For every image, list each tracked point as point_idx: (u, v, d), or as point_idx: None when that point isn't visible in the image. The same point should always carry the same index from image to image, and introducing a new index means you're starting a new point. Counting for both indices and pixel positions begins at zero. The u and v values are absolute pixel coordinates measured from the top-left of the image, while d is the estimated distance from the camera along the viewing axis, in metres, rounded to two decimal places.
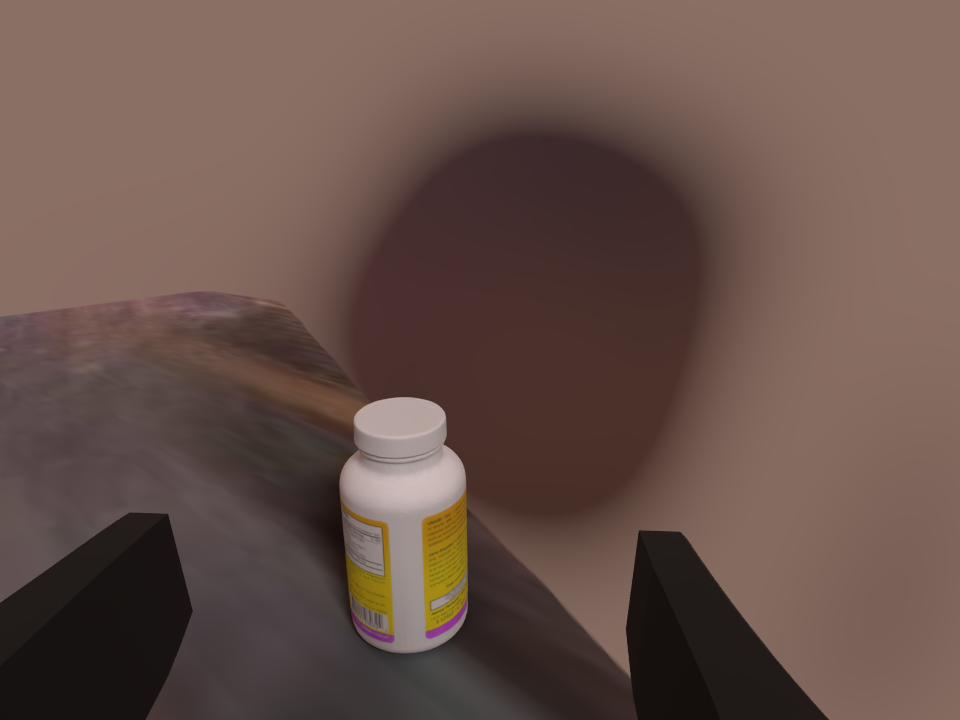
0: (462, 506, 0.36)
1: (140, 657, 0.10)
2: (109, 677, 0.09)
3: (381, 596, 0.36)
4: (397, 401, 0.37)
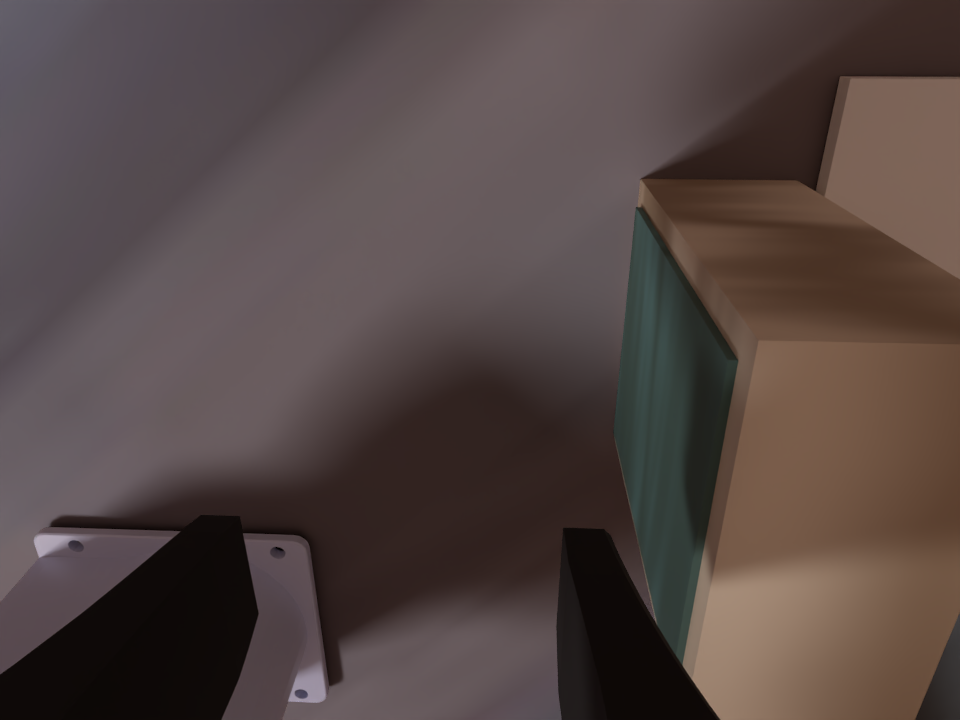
0: None
1: (216, 661, 0.10)
2: (190, 681, 0.09)
3: None
4: None
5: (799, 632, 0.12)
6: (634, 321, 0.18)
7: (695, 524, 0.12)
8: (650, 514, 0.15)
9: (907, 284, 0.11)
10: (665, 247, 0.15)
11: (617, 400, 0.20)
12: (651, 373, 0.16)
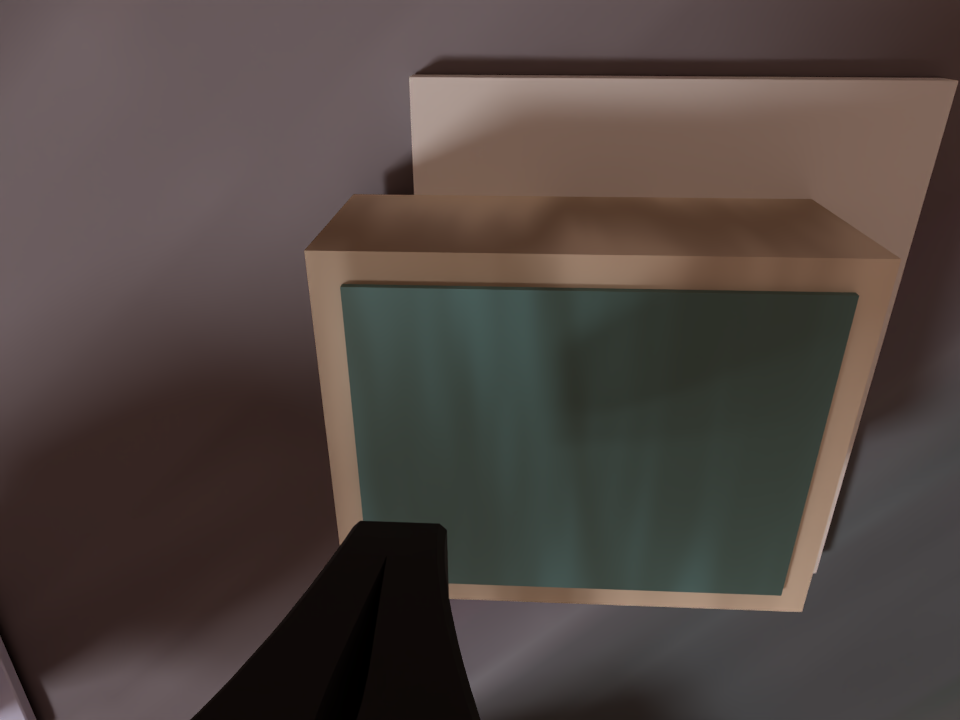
0: None
1: None
2: None
3: None
4: None
5: None
6: (425, 416, 0.13)
7: (810, 451, 0.13)
8: (635, 538, 0.14)
9: (716, 209, 0.14)
10: (537, 287, 0.12)
11: None
12: (565, 425, 0.13)
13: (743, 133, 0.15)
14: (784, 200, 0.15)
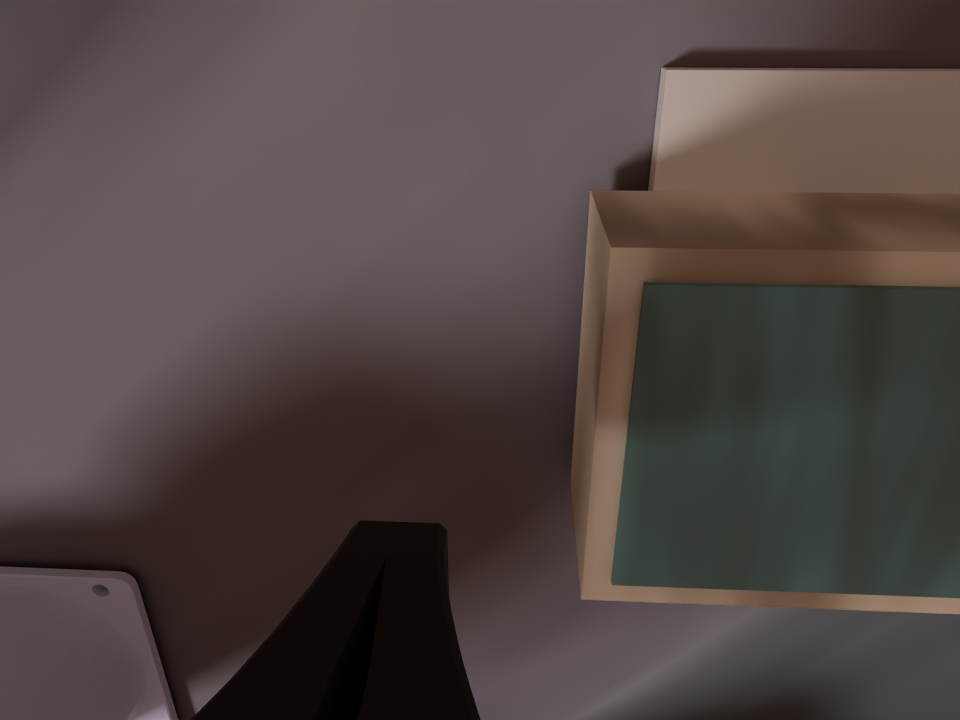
0: None
1: None
2: None
3: None
4: None
5: None
6: (706, 417, 0.13)
7: None
8: (900, 542, 0.14)
9: None
10: (850, 285, 0.12)
11: (622, 543, 0.14)
12: (851, 427, 0.13)
13: None
14: None
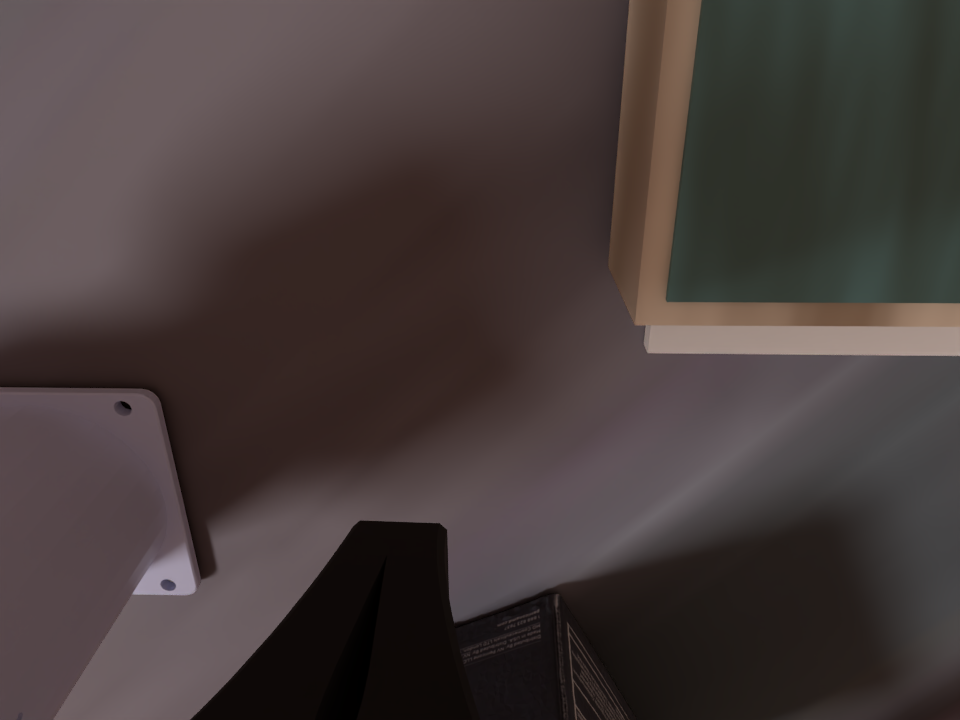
0: None
1: None
2: None
3: None
4: None
5: None
6: (769, 88, 0.13)
7: None
8: (954, 237, 0.14)
9: None
10: None
11: (679, 248, 0.14)
12: (912, 95, 0.13)
13: None
14: None
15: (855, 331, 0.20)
